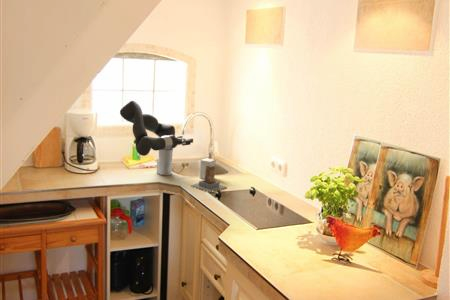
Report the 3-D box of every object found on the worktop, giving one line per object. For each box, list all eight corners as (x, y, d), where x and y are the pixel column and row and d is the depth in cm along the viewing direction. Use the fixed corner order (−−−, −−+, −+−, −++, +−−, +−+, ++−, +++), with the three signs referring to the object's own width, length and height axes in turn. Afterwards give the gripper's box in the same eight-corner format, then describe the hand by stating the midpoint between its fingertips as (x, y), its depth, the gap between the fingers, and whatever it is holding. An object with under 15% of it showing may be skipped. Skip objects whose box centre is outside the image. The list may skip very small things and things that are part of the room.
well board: (190, 186, 292) (191, 181, 292) (207, 181, 305) (208, 176, 304) (210, 192, 283) (210, 187, 282) (226, 188, 295) (227, 182, 294)
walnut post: (204, 185, 293) (205, 165, 290) (208, 184, 296) (210, 164, 293) (209, 187, 291) (210, 167, 288) (213, 186, 294) (215, 166, 291)
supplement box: (214, 178, 314) (216, 159, 311) (208, 180, 308) (210, 161, 305) (205, 175, 318) (206, 157, 315) (199, 178, 311) (200, 159, 309)
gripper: (158, 146, 268) (178, 143, 280) (175, 151, 259) (195, 147, 272) (158, 133, 266) (179, 130, 279) (176, 138, 258) (196, 135, 270)
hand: (187, 139), depth 275 cm, fingers open, 8 cm apart
